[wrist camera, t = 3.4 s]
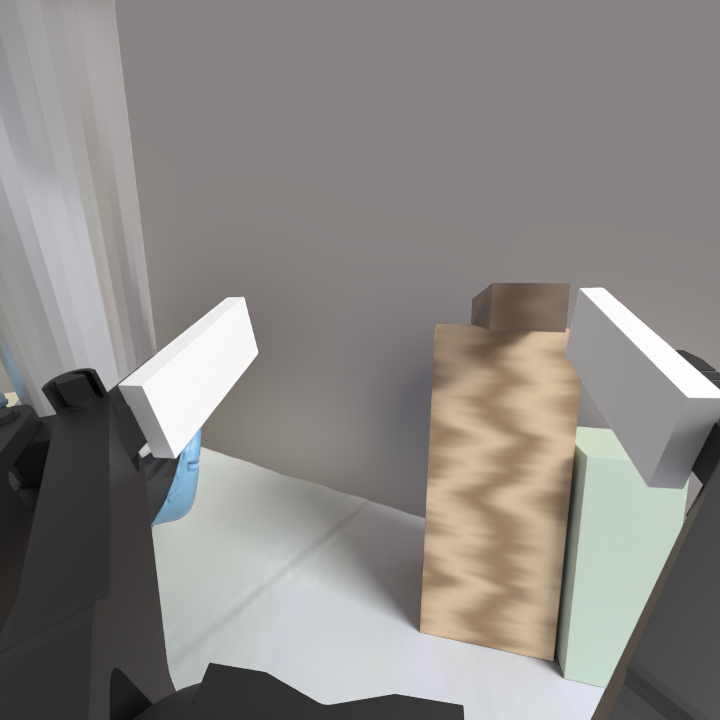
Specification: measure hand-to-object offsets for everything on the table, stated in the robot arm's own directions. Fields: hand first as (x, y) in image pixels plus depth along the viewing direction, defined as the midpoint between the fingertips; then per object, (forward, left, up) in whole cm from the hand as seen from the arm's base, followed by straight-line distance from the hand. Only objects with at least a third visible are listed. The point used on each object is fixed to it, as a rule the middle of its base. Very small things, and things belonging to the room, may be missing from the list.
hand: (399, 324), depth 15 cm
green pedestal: (+17, +21, -30) cm, 41 cm away
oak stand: (+7, +24, -30) cm, 40 cm away
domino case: (+7, +21, 0) cm, 22 cm away
